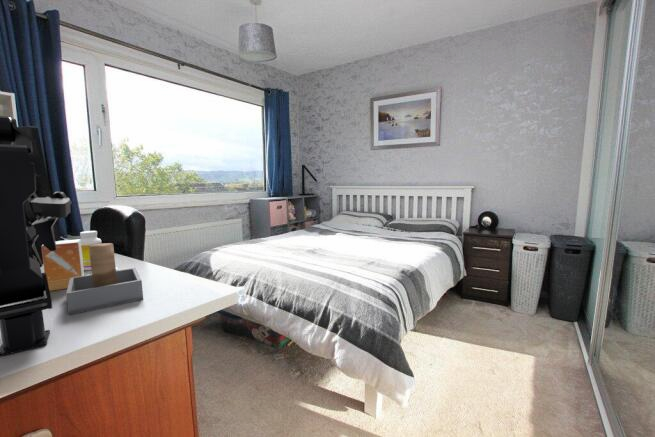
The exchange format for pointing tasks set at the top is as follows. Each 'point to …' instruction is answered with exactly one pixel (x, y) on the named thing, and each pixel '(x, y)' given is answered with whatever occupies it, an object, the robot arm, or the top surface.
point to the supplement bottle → (86, 241)
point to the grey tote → (103, 292)
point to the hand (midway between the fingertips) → (47, 258)
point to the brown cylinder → (102, 264)
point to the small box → (63, 263)
